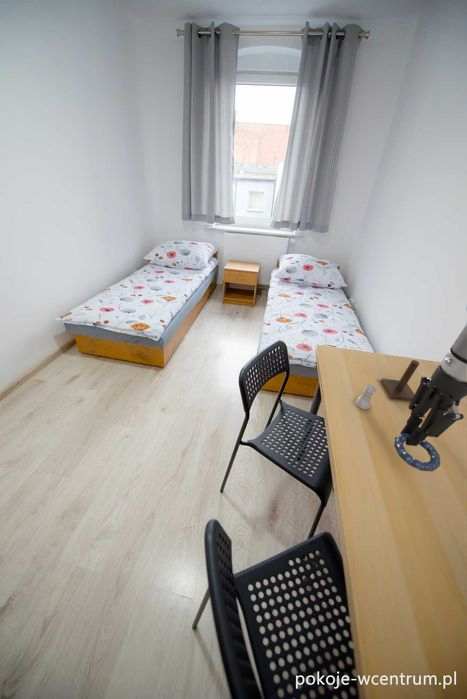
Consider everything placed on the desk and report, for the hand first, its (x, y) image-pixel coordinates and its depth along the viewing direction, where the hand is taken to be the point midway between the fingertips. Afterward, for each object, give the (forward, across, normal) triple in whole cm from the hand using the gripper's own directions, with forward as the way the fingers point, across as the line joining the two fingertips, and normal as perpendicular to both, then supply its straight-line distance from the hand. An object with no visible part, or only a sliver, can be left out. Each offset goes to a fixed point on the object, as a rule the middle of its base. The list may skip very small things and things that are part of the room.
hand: (408, 439), depth 74 cm
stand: (+6, -27, +12) cm, 30 cm away
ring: (-1, +4, 0) cm, 4 cm away
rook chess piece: (+7, -18, -4) cm, 19 cm away
